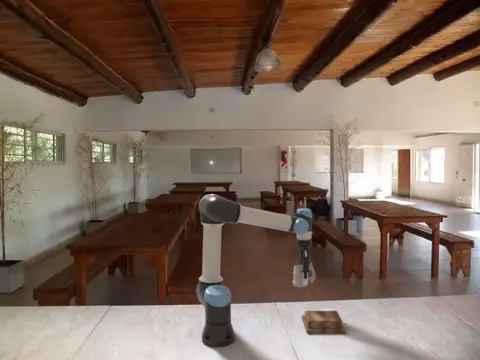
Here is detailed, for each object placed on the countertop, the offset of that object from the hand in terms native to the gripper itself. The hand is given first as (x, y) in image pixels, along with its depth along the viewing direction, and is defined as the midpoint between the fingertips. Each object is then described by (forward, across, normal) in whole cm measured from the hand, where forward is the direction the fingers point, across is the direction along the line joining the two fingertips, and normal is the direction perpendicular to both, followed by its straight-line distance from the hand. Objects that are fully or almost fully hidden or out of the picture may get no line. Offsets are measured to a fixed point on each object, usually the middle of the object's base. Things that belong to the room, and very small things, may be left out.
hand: (303, 282), depth 216 cm
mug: (+2, 0, 0) cm, 2 cm away
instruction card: (+17, +1, -13) cm, 21 cm away
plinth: (+17, -15, -7) cm, 24 cm away
